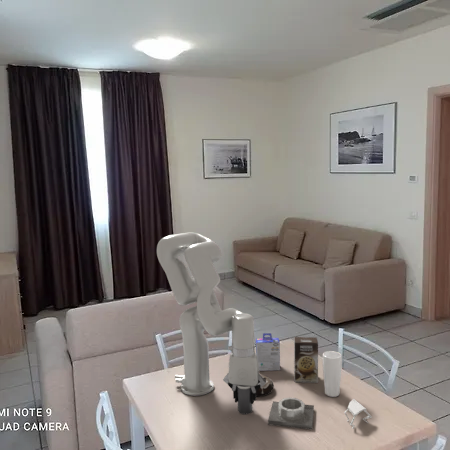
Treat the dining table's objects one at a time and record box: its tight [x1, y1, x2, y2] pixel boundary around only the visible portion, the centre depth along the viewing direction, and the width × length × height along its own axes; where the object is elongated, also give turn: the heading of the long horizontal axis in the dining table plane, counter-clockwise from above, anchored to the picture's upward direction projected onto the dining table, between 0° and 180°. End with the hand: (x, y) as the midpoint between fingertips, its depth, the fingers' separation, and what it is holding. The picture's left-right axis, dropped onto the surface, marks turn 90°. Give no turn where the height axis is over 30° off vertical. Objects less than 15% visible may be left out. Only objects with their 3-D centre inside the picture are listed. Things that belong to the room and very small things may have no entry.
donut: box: [256, 374, 275, 397], centre depth 162 cm, size 12×12×4 cm
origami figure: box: [343, 398, 373, 430], centre depth 141 cm, size 12×8×5 cm
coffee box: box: [293, 336, 319, 384], centre depth 169 cm, size 9×6×16 cm
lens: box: [237, 385, 253, 415], centre depth 148 cm, size 5×5×10 cm
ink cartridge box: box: [255, 332, 281, 372], centre depth 179 cm, size 10×6×14 cm, turn 89°
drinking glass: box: [322, 350, 343, 398], centre depth 157 cm, size 7×7×15 cm
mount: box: [267, 396, 315, 430], centre depth 143 cm, size 14×12×4 cm
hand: (244, 400), depth 148 cm, fingers closed on lens, 5 cm apart
